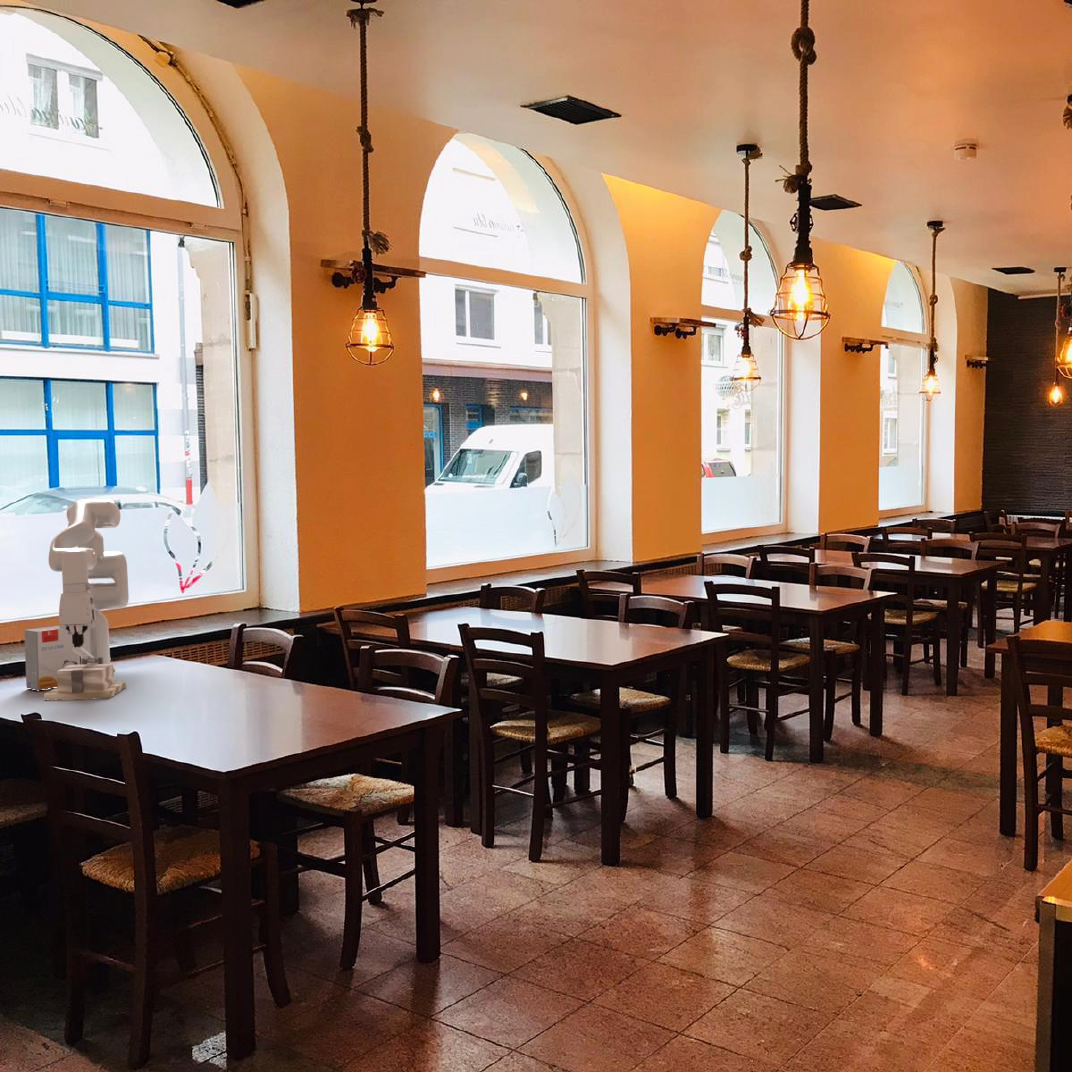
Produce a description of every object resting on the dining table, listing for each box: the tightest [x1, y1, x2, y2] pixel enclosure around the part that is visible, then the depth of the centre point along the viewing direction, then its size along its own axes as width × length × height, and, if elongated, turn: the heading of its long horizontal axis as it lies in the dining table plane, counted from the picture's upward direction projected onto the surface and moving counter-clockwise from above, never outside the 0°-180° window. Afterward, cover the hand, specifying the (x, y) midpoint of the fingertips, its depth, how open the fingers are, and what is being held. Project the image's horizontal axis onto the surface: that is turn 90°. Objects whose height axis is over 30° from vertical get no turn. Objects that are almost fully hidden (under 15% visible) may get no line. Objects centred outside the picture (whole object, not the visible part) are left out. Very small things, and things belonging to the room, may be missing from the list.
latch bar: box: [72, 647, 98, 663], centre depth 364 cm, size 16×3×1 cm, turn 2°
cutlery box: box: [43, 657, 127, 701], centre depth 364 cm, size 17×20×10 cm
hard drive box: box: [23, 625, 81, 690], centre depth 376 cm, size 16×8×20 cm, turn 143°
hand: (78, 646), depth 358 cm, fingers closed
